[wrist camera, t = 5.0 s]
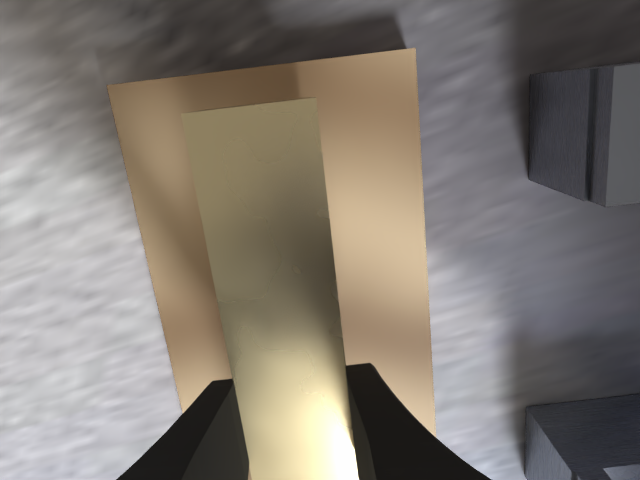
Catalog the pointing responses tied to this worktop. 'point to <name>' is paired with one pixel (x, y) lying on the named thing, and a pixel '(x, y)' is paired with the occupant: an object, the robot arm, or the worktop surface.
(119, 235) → the worktop surface
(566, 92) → the post
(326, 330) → the rail
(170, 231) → the board
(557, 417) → the post
